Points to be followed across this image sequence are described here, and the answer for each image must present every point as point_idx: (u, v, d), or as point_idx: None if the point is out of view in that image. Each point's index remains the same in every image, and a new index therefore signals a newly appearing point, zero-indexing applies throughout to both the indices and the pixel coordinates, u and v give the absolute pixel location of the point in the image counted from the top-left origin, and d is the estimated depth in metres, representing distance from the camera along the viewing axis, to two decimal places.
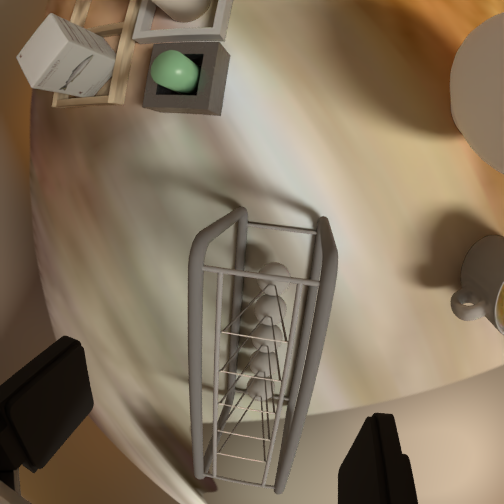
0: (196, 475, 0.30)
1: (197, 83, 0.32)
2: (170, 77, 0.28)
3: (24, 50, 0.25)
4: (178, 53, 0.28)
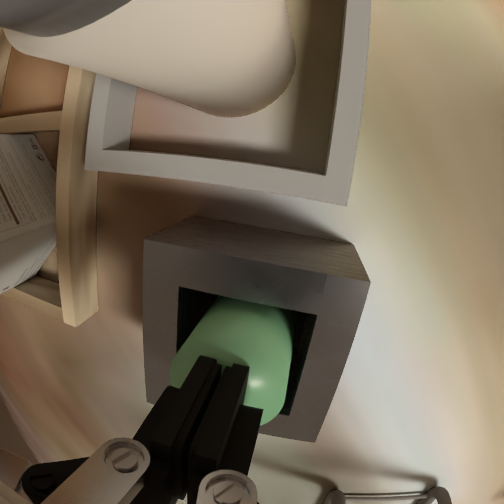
0: None
1: None
2: None
3: None
4: (258, 358, 0.10)
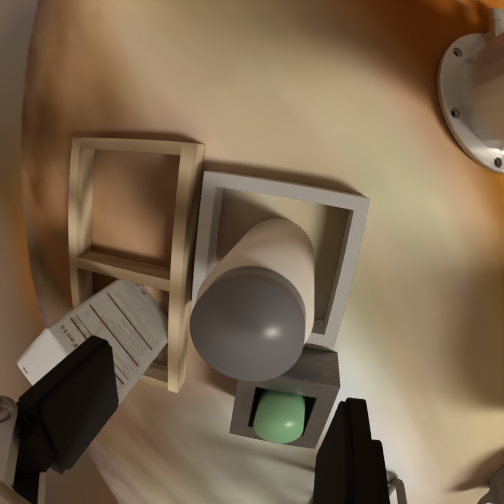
0: None
1: None
2: (281, 437, 0.23)
3: (28, 366, 0.19)
4: (293, 417, 0.22)
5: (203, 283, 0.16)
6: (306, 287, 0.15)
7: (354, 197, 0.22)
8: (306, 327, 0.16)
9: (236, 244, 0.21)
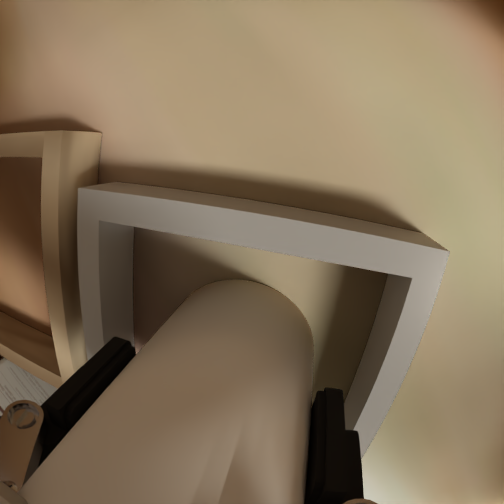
0: None
1: None
2: None
3: None
4: None
5: None
6: None
7: (416, 248, 0.08)
8: None
9: (117, 377, 0.07)
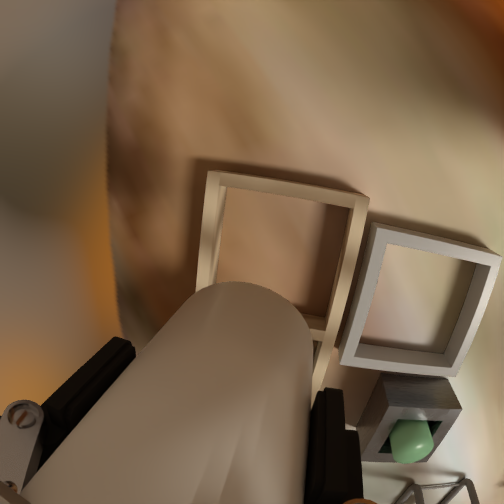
0: None
1: None
2: (412, 458, 0.23)
3: None
4: (429, 440, 0.22)
5: None
6: None
7: (492, 255, 0.21)
8: None
9: (117, 380, 0.07)
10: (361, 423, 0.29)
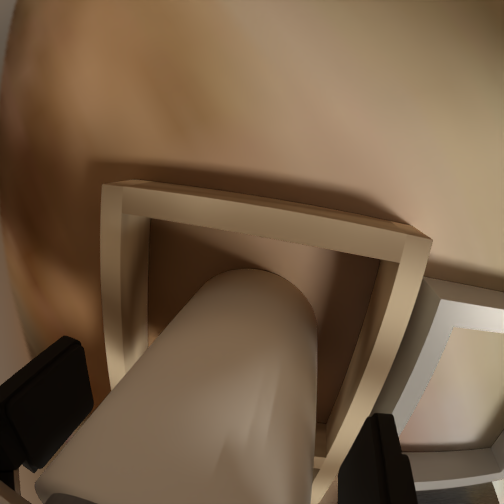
0: None
1: None
2: None
3: None
4: None
5: (37, 488, 0.04)
6: None
7: None
8: None
9: (146, 351, 0.09)
10: None
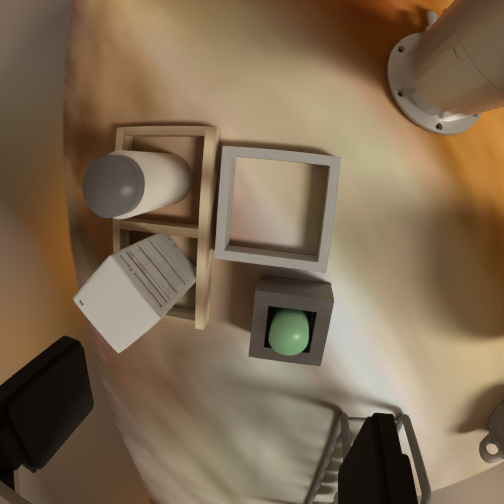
0: None
1: None
2: (291, 349, 0.32)
3: (85, 297, 0.28)
4: (299, 326, 0.31)
5: None
6: (143, 162, 0.25)
7: (329, 156, 0.31)
8: (145, 187, 0.26)
9: None
10: None
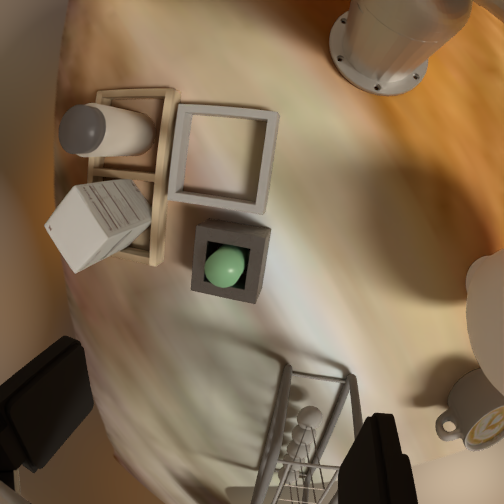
0: None
1: None
2: (225, 281, 0.36)
3: (53, 223, 0.31)
4: (231, 258, 0.35)
5: None
6: (106, 111, 0.29)
7: (267, 111, 0.34)
8: (106, 130, 0.29)
9: None
10: None
